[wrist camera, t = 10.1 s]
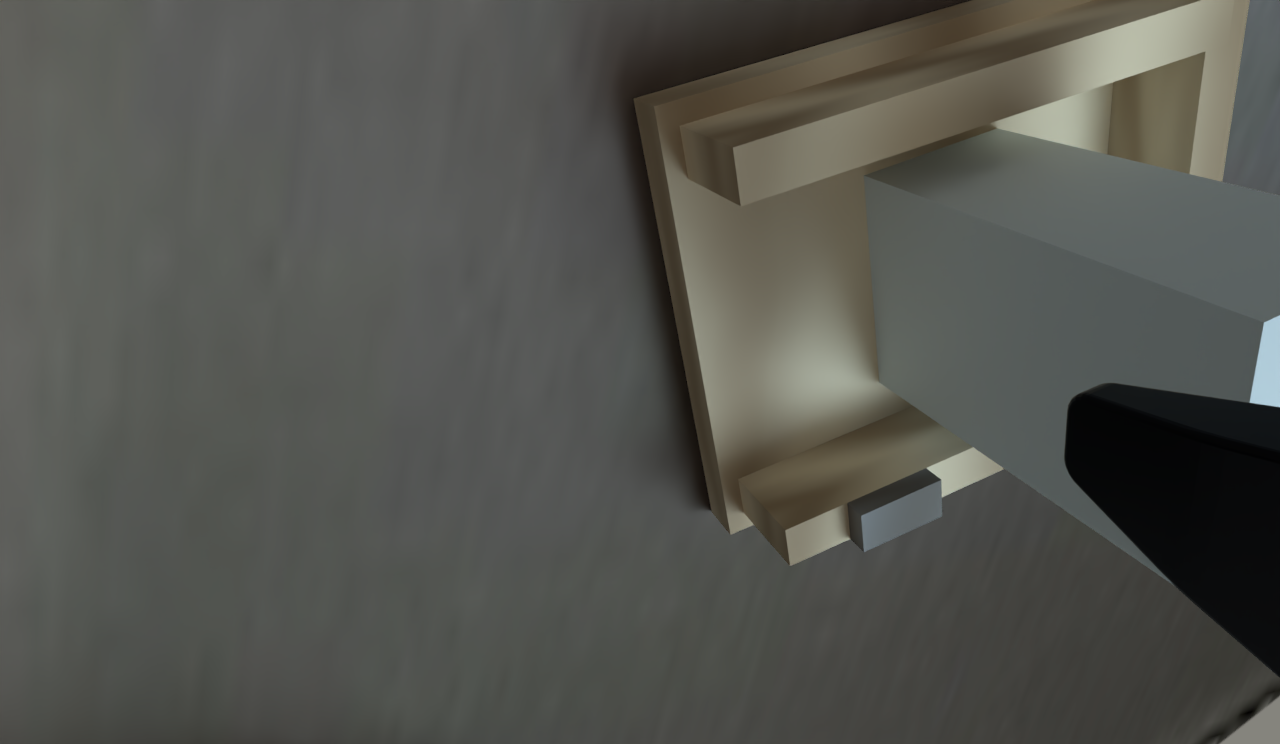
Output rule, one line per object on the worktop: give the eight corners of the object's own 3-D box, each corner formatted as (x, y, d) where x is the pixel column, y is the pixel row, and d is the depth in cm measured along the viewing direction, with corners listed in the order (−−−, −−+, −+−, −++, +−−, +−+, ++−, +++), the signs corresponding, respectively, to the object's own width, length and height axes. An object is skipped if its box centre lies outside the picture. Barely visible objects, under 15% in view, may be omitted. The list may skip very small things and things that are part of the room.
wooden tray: (711, 511, 25) (787, 604, 22) (633, 98, 19) (719, 131, 16) (1088, 351, 29) (1207, 408, 25) (1119, -43, 23) (1282, -42, 19)
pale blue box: (879, 382, 24) (1211, 611, 16) (863, 175, 21) (1264, 322, 13) (995, 333, 25) (1368, 524, 17) (997, 128, 22) (1451, 236, 14)
